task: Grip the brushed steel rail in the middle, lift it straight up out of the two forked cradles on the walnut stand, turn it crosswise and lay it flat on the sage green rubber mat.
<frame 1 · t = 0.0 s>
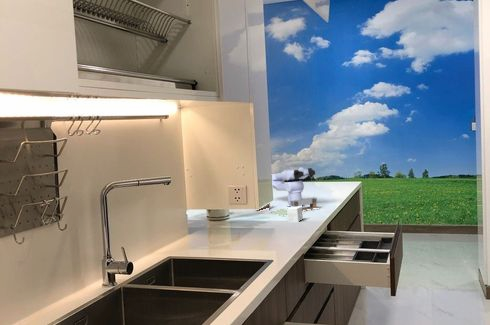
hand: (308, 173, 295), 22 cm above the table, tool horizontal, fingers open, 7 cm apart
food container: (260, 210, 311), on the table
product box: (295, 221, 266), on the table
mat: (282, 213, 294), on the table
rail: (304, 204, 298), point 3 cm above the table, touching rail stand
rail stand: (304, 210, 298), on the table
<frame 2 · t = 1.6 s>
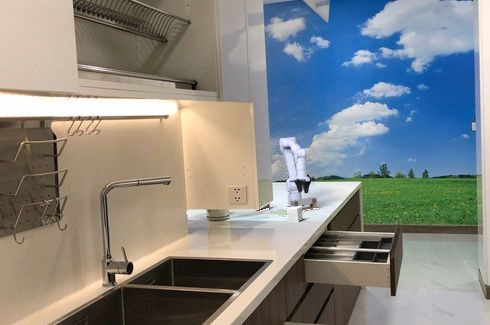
hand: (303, 192, 297), 10 cm above the table, tool pointing down, fingers open, 7 cm apart
nothing on the table moved.
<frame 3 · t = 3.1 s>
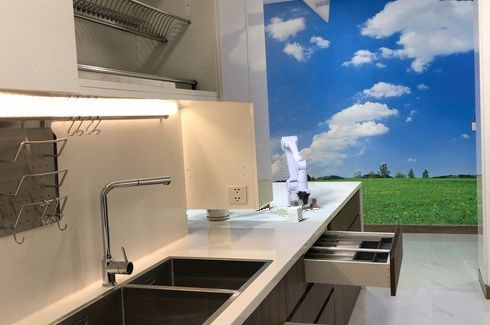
hand: (304, 204, 298), 3 cm above the table, tool pointing down, fingers closed on rail, 3 cm apart
rail: (304, 204, 298), point 3 cm above the table, touching gripper, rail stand
everything else where it was.
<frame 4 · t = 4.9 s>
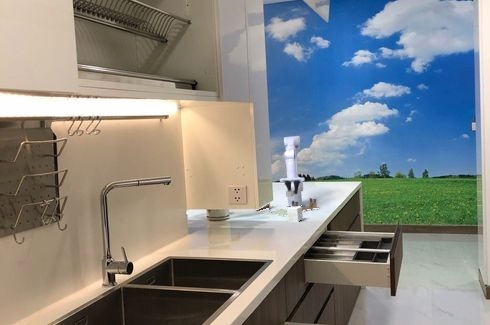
hand: (293, 193, 296), 10 cm above the table, tool pointing down, fingers closed on rail, 3 cm apart
rail: (293, 194, 296), point 10 cm above the table, touching gripper
everything else where it was.
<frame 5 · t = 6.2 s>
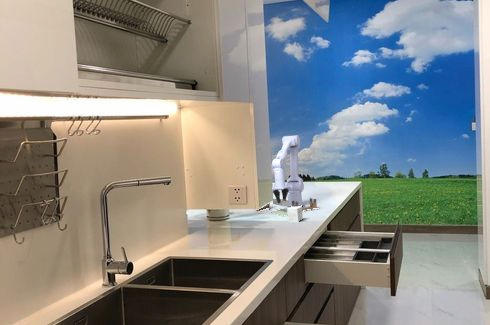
hand: (281, 202, 294), 6 cm above the table, tool pointing down, fingers closed on rail, 3 cm apart
rail: (281, 204, 294), point 5 cm above the table, touching gripper
everything else where it was.
when the fingers open (3 cm above the table, at t = 7.1 s): rail stays where it is, resting on mat.
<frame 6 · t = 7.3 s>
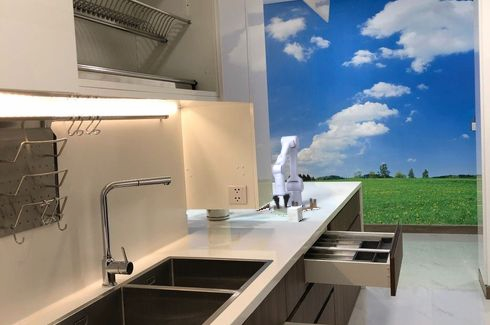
hand: (282, 208, 294), 3 cm above the table, tool pointing down, fingers open, 4 cm apart
rail: (281, 211, 295), point 1 cm above the table, touching mat
everything else where it was.
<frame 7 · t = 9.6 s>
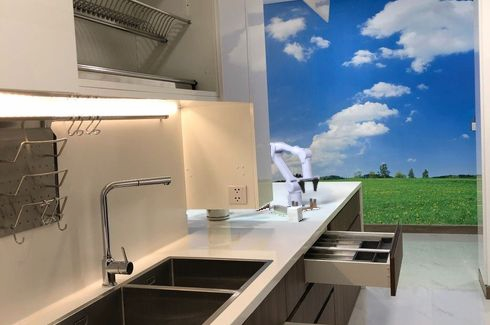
hand: (309, 192, 304), 9 cm above the table, tool pointing down, fingers open, 7 cm apart
nothing on the table moved.
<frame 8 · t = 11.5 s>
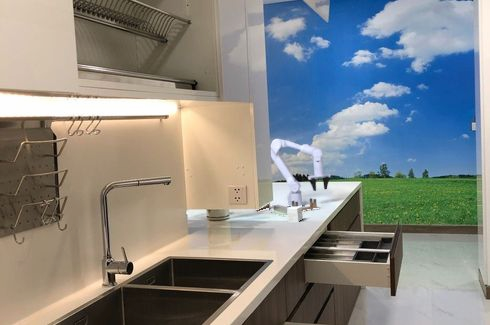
hand: (320, 190, 311), 9 cm above the table, tool pointing down, fingers open, 7 cm apart
nothing on the table moved.
at the end: rail 0.8 cm off-centre on the mat, point 0.8 cm above the mat's base; rail touching mat; rail tilted 0° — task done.
